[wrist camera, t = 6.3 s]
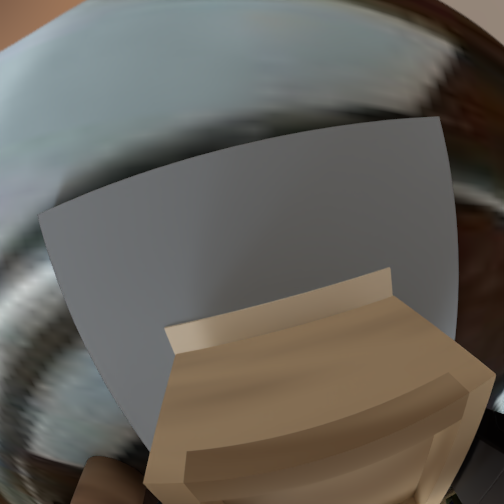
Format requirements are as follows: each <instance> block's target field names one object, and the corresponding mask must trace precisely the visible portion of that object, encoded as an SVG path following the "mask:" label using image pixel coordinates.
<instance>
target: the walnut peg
mask: <svg viewBox="0 0 504 504" xmlns="http://www.w3.org/2000/svg"><path fill="white" fill-rule="evenodd" d="M143 481H144V476H143V475H142V474H141V473H140V472H139V471H137V470H136V469H134V468H133V467H131V466H129V465H127V464H125V463H123V462H121V461H118V460H116V459H112V458H108V457H103V456H93V457H90V458H89V459H88V460H87V462H86V465H85V467H84V470H83V472H82V475H81V477H80V480H79V482H78V485H77V487H76V490H75V492H74V495H73V498H72V500H71V503H70V504H143V501H144V496H145V491H146V486H145V485H144V484H143Z"/></svg>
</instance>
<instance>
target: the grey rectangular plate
mask: <svg viewBox="0 0 504 504" xmlns="http://www.w3.org/2000/svg"><path fill="white" fill-rule="evenodd" d="M38 219H39V223H40V227H41V231H42V234H43V238H44V241H45V245H46V248H47V251H48V254H49V257H50V260H51V263H52V266H53V269H54V272H55V275H56V278H57V281H58V283H59V286H60V289H61V291H62V294H63V297H64V299H65V302H66V304H67V306H68V309H69V311H70V314H71V316H72V318H73V321H74V323H75V325H76V327H77V330H78V332H79V334H80V336H81V338H82V340H83V342H84V344H85V346H86V348H87V351H88V353H89V354H90V356H91V358H92V360H93V362H94V364H95V366H96V368H97V370H98V372H99V373H100V375H101V377H102V379H103V381H104V382H105V384H106V386H107V388H108V389H109V391H110V393H111V394H112V396H113V398H114V399H115V401H116V403H117V404H118V406H119V408H120V409H121V411H122V412H123V414H124V415H125V417H126V418H127V420H128V422H129V423H130V425H131V426H132V427H133V429H134V430H135V432H136V433H137V435H138V436H139V438H140V439H141V440H142V442H143V443H144V445H145V446H146V447H147V449H148V450H149V451H150V450H151V446H152V442H153V438H154V434H155V430H156V426H157V422H158V418H159V414H160V410H161V406H162V402H163V399H164V395H165V391H166V387H167V384H168V380H169V376H170V373H171V369H172V365H173V362H174V358H175V355H176V354H178V353H184V352H189V351H194V350H199V349H204V348H209V347H213V346H218V345H223V344H227V343H232V342H236V341H240V340H245V339H249V338H253V337H257V336H261V335H265V334H269V333H273V332H277V331H281V330H284V329H288V328H292V327H295V326H299V325H303V324H306V323H310V322H313V321H317V320H320V319H323V318H327V317H330V316H333V315H337V314H340V313H343V312H346V311H350V310H353V309H356V308H359V307H362V306H365V305H368V304H371V303H374V302H377V301H380V300H383V299H386V298H388V297H391V296H395V297H397V298H398V299H399V300H401V301H402V302H403V303H405V304H406V305H408V306H409V307H410V308H412V309H413V310H414V311H416V312H417V313H418V314H420V315H421V316H422V317H424V318H425V319H426V320H428V321H429V322H430V323H432V324H433V325H434V326H436V327H437V328H438V329H440V330H441V331H442V332H443V333H445V334H446V335H447V336H449V337H450V338H451V339H453V340H454V341H455V333H456V322H457V307H458V274H459V270H458V236H457V221H456V210H455V201H454V192H453V185H452V178H451V171H450V165H449V160H448V154H447V149H446V144H445V140H444V135H443V131H442V126H441V122H440V118H439V117H420V118H406V119H394V120H383V121H374V122H365V123H357V124H350V125H342V126H335V127H329V128H323V129H316V130H311V131H305V132H299V133H294V134H289V135H284V136H279V137H274V138H269V139H264V140H260V141H255V142H251V143H247V144H242V145H238V146H234V147H230V148H226V149H222V150H218V151H214V152H211V153H207V154H203V155H200V156H196V157H192V158H189V159H185V160H182V161H179V162H175V163H172V164H169V165H166V166H162V167H159V168H156V169H153V170H150V171H147V172H144V173H141V174H138V175H135V176H132V177H129V178H126V179H124V180H121V181H118V182H115V183H113V184H110V185H107V186H105V187H102V188H99V189H97V190H94V191H92V192H89V193H87V194H84V195H82V196H79V197H77V198H74V199H72V200H70V201H67V202H65V203H63V204H60V205H58V206H56V207H53V208H51V209H49V210H47V211H44V212H42V213H40V214H38Z"/></svg>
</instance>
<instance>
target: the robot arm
mask: <svg viewBox="0 0 504 504" xmlns="http://www.w3.org/2000/svg"><path fill="white" fill-rule="evenodd" d="M451 486H452V487H453V489H454V491H455V492H456V494H457V496H458V497H459V499H460V500H461V502H462V504H504V414H502V413H499V412H496V411H493V410H490V409H487V408H485V411H484V414H483V417H482V419H481V422H480V424H479V427H478V429H477V432H476V434H475V437H474V439H473V441H472V443H471V446H470V448H469V450H468V452H467V454H466V457H465V459H464V461H463V463H462V465H461V467H460V469H459V471H458V472H457V474H456V476H455V478H454V480H453V482H452V484H451ZM157 504H163V503H162V502H161V501H160V500H159V502H158V503H157Z"/></svg>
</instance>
